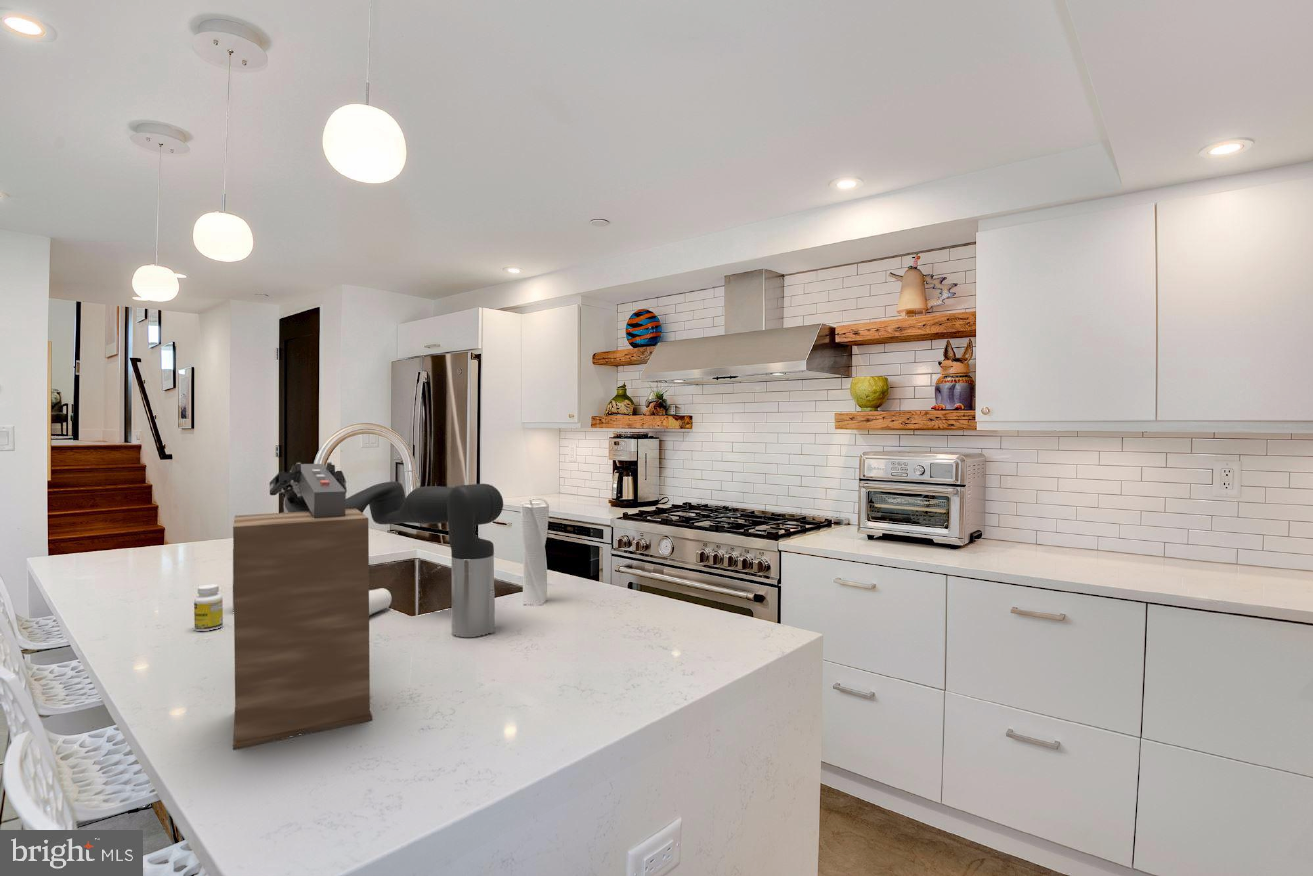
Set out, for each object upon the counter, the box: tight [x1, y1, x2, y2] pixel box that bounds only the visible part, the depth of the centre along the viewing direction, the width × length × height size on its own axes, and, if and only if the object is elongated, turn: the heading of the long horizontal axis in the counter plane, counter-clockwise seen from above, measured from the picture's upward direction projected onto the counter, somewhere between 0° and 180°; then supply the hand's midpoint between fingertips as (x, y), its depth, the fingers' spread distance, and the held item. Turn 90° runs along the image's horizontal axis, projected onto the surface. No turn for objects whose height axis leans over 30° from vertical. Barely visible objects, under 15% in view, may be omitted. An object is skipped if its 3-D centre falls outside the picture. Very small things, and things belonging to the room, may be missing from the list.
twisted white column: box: [520, 496, 550, 606], centre depth 176 cm, size 8×8×28 cm
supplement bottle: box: [193, 583, 224, 632], centre depth 153 cm, size 5×5×10 cm
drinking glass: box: [369, 587, 392, 616], centre depth 163 cm, size 7×7×15 cm
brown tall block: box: [232, 509, 373, 750], centre depth 107 cm, size 15×19×32 cm
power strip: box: [298, 463, 347, 517], centre depth 119 cm, size 30×4×4 cm, turn 33°
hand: (314, 467), depth 125 cm, fingers closed on power strip, 4 cm apart
